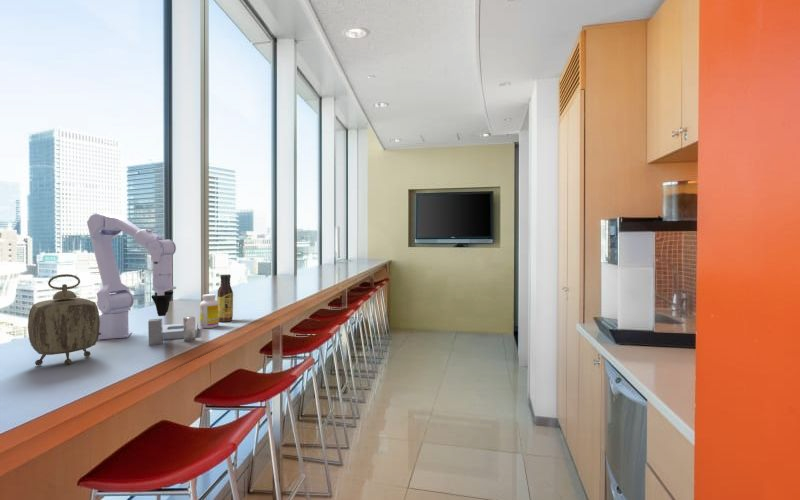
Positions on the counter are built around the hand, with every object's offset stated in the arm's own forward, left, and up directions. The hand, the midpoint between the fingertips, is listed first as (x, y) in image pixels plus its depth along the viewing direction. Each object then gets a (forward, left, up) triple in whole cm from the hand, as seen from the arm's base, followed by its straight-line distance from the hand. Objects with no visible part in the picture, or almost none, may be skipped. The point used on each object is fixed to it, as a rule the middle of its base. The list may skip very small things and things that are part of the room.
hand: (163, 313), depth 137 cm
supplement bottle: (+14, +17, -9) cm, 24 cm away
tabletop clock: (-22, -18, -9) cm, 30 cm away
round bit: (+8, -4, -9) cm, 13 cm away
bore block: (+3, +8, -9) cm, 12 cm away
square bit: (-2, -4, -9) cm, 10 cm away
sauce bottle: (+20, +27, -9) cm, 35 cm away
